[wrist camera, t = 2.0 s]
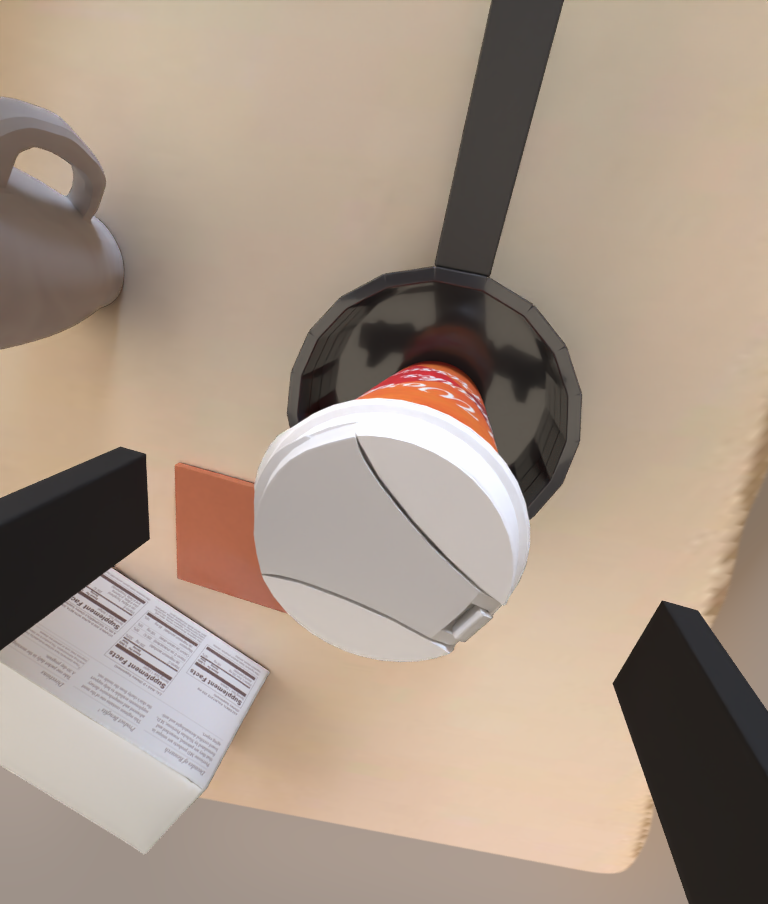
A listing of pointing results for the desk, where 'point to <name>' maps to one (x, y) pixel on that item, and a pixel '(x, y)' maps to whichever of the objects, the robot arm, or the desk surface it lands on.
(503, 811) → the desk surface
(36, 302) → the mug
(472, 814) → the desk surface
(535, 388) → the pan
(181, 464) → the coaster
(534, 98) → the pan handle
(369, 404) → the paper cup
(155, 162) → the desk surface
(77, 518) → the robot arm
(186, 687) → the supplement box
